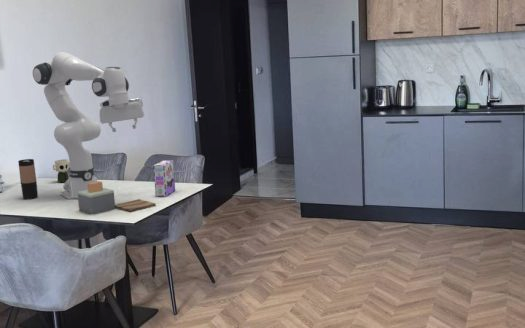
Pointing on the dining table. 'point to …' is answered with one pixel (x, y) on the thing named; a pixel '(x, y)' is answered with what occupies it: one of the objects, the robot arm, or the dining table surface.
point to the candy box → (164, 178)
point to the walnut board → (134, 205)
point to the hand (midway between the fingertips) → (124, 130)
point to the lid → (95, 190)
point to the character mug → (61, 169)
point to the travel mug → (28, 179)
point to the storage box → (96, 203)
